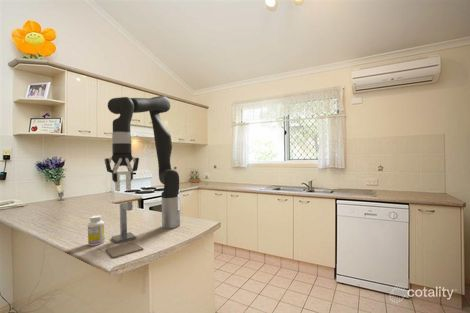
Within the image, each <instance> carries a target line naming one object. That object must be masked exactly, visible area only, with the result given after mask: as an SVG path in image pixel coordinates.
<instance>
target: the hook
mask: <svg viewBox="0 0 470 313" xmlns="http://www.w3.org/2000/svg"><path fill="white" fill-rule="evenodd" d="M116 174H117V182H114V190H115V191H116V192H121V183H120V182H121V180H120V179H121V178H120V176H123V175H125V190H128V191H131V190H132V181H131V171H127V170H126V171H123V170H122V171H117V172H116Z"/></svg>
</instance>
